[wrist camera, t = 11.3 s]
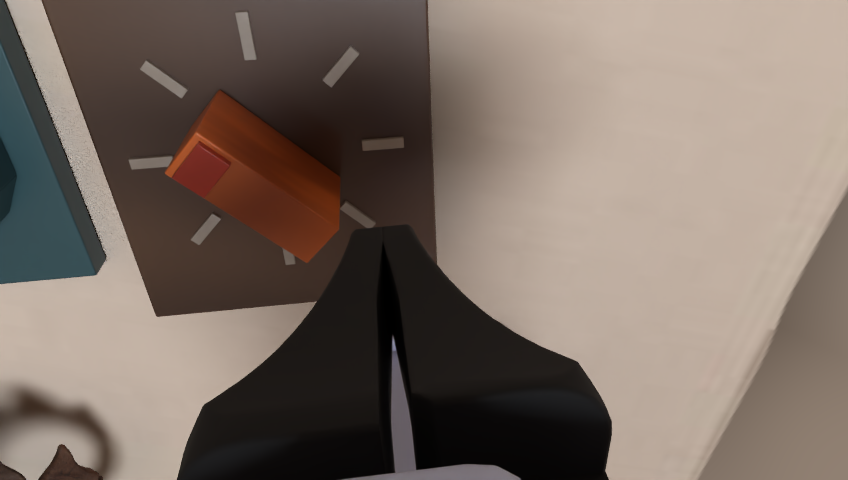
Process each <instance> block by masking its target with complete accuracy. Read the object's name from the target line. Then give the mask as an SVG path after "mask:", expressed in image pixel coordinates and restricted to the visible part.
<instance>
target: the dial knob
mask: <svg viewBox="0 0 848 480" xmlns="http://www.w3.org/2000/svg"><path fill="white" fill-rule="evenodd" d="M165 174H166V175H168V176H169V177H171V178H172V179H174V180H175V181H177V182H179V183H180V184H182V185H183V186H185V187H187V188H188V189H190V190H191V191H193V192H194V193H196V194H198V195H199V196H201V197H202V198H204V199H206V200H207V201H209V202H210V203H212V204H214V205H215V206H217V207H218V208H220V209H222V210H223V211H225V212H226V213H228V214H230V215H231V216H233V217H234V218H236V219H237V220H239V221H241V222H242V223H244V224H245V225H247V226H249V227H250V228H252V229H253V230H255V231H256V232H258V233H260V234H261V235H263V236H264V237H266V238H268V239H269V240H271V241H272V242H274V243H276V244H277V245H279V246H280V247H282V248H283V249H285V250H287V251H288V252H290V253H291V254H293V255H295V256H296V257H298V258H299V259H301V260H302V261H304V262H306V263H308V262H309V261H310V260H311V259H312V258H313V257H314V256H315V255H316V253H317V252H318V251H319V250H320V249H321V248H322V247H323V246H324V245H325V244H326V243H327V242H328V241H329V240H330V239H331V238H332V237H333V235H334V234H335V233H336V232H337V231H338V230H339V215H340V177H339V176H338V175H337V174H335V173H334V172H332V171H331V170H330V169H328V168H327V167H326V166H324V165H323V164H321V163H320V162H319V161H317V160H316V159H315V158H313V157H312V156H310V155H309V154H308V153H306V152H305V151H304V150H302V149H301V148H299V147H298V146H297V145H295V144H294V143H293V142H291V141H290V140H288V139H287V138H286V137H284V136H283V135H282V134H280V133H279V132H277V131H276V130H275V129H273V128H272V127H271V126H269V125H268V124H266V123H265V122H264V121H262V120H261V119H260V118H258V117H257V116H255V115H254V114H253V113H251V112H250V111H248V110H247V109H246V108H244V107H243V106H242V105H240V104H239V103H237V102H236V101H235V100H233V99H232V98H231V97H229V96H228V95H226V94H225V93H224V92H222V91H221V90H218V92H217V93H216V94H215V96H214V97H213V98H212V100H211V101H210V102H209V104H208V105H207V106H206V108H205V109H204V110H203V112H202V113H201V114H200V116H199V117H198V118H197V119H196V121H195V122H194V123H193V125H192V126H191V128H190V130H189V132H188V133H187V135H186V137H185V138H184V140H183V142H182V144H181V145H180V147H179V149H178V150H177V152H176V154H175V156H174V157H173V159H172V161H171V162H170V164H169V166H168V168H167V169H166V171H165Z"/></svg>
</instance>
